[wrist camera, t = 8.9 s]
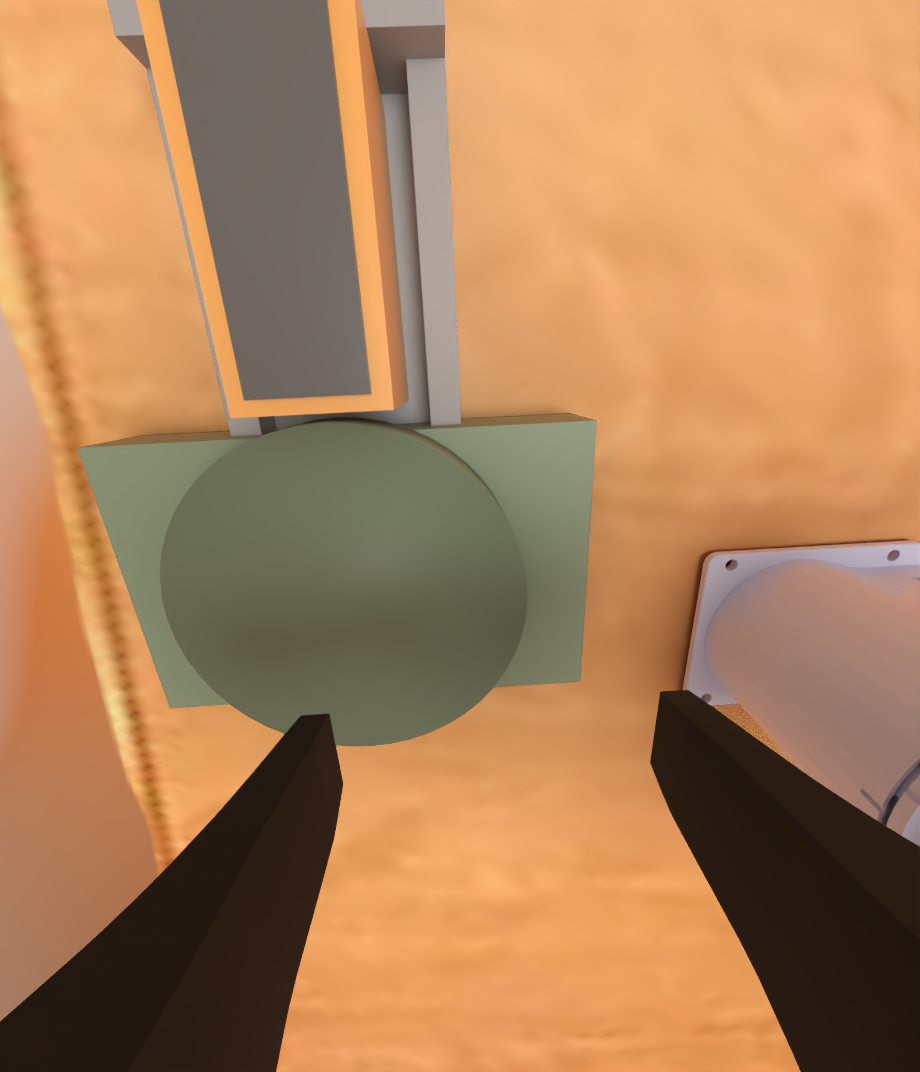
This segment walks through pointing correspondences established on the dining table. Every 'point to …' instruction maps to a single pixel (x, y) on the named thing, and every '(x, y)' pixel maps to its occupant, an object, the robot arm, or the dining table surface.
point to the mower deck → (361, 497)
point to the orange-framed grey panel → (284, 198)
